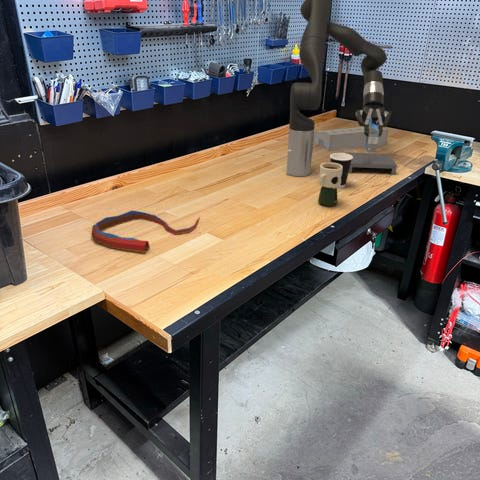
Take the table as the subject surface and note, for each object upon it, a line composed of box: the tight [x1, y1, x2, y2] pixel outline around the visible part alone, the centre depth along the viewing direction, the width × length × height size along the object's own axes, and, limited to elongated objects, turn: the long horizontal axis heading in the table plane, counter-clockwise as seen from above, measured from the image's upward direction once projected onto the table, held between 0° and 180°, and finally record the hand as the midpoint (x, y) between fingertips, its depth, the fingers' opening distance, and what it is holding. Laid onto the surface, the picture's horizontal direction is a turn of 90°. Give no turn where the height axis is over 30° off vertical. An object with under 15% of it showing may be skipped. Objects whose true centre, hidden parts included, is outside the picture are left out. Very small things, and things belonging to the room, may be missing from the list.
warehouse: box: [313, 126, 389, 152], centre depth 211 cm, size 30×14×8 cm, turn 110°
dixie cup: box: [329, 152, 353, 189], centre depth 162 cm, size 8×8×11 cm
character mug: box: [317, 161, 343, 207], centre depth 147 cm, size 11×7×13 cm, turn 136°
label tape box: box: [365, 116, 379, 153], centre depth 176 cm, size 9×4×12 cm, turn 170°
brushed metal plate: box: [344, 151, 398, 176], centre depth 181 cm, size 18×14×4 cm
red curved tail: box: [91, 210, 201, 254], centre depth 132 cm, size 31×22×5 cm
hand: (373, 135), depth 175 cm, fingers closed on label tape box, 4 cm apart
